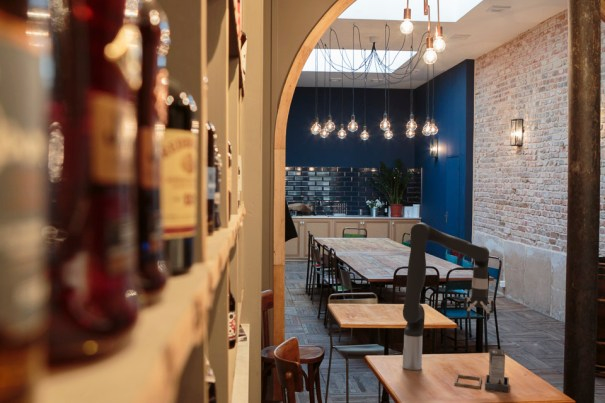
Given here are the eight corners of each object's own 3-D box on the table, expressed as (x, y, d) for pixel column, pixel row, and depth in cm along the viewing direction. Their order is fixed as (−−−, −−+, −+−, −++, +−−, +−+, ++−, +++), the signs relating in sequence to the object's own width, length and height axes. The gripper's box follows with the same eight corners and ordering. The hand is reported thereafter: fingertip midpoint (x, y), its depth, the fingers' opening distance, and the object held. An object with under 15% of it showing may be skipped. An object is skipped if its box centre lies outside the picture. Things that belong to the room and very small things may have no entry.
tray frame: (454, 385, 262) (454, 382, 262) (457, 376, 275) (457, 374, 275) (480, 388, 258) (480, 386, 258) (481, 379, 271) (481, 377, 271)
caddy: (484, 389, 257) (485, 383, 257) (486, 380, 270) (486, 374, 270) (508, 393, 254) (508, 386, 254) (508, 383, 266) (508, 377, 266)
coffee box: (488, 381, 267) (489, 348, 267) (502, 383, 266) (503, 349, 265) (490, 388, 258) (491, 354, 258) (504, 389, 257) (505, 355, 256)
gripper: (464, 286, 274) (462, 319, 274) (494, 289, 269) (492, 323, 269) (465, 284, 281) (463, 316, 281) (495, 287, 276) (493, 319, 276)
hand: (478, 319), depth 275 cm, fingers open, 8 cm apart
